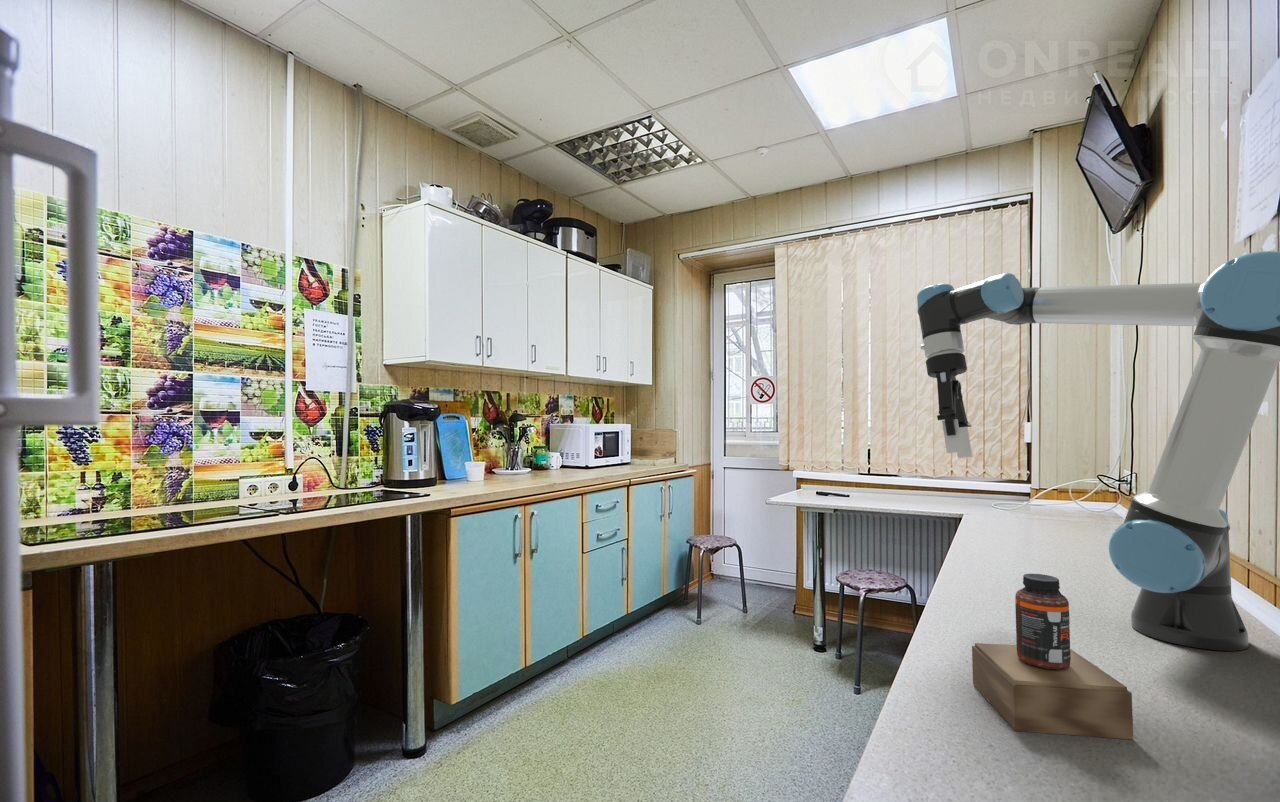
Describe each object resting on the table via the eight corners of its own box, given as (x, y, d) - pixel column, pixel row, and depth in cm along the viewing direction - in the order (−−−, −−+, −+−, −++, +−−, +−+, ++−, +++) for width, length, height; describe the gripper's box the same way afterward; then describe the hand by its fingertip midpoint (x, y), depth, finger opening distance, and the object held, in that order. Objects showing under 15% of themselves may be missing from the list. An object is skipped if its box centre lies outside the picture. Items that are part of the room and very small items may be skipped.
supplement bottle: (1073, 675, 73) (1070, 585, 74) (1017, 665, 77) (1014, 578, 77) (1068, 659, 79) (1066, 574, 79) (1016, 650, 82) (1014, 569, 82)
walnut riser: (1071, 690, 82) (1070, 647, 83) (1133, 739, 70) (1131, 688, 70) (972, 684, 85) (971, 642, 85) (1014, 730, 72) (1013, 681, 72)
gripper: (936, 370, 137) (950, 460, 132) (913, 347, 117) (928, 452, 112) (972, 364, 132) (988, 457, 128) (954, 339, 113) (972, 448, 108)
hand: (960, 455), depth 120 cm, fingers open, 13 cm apart
